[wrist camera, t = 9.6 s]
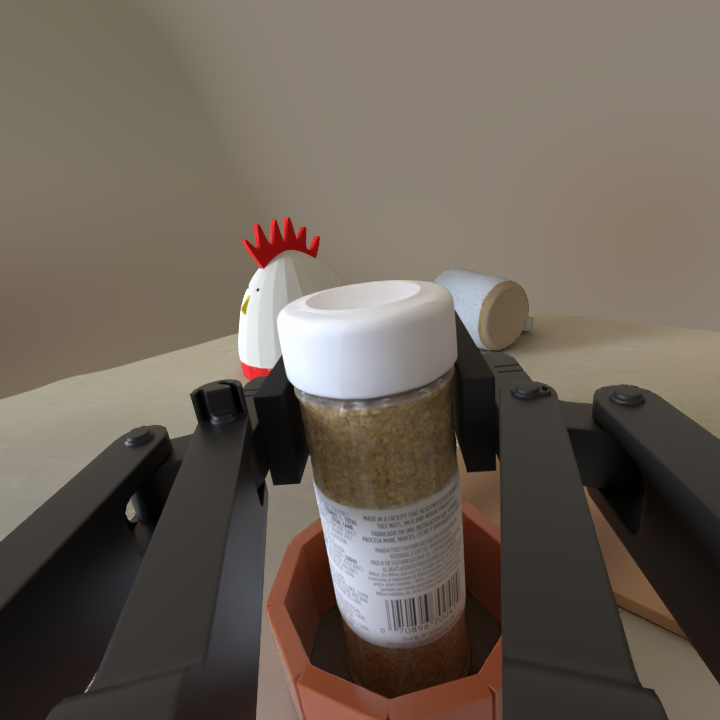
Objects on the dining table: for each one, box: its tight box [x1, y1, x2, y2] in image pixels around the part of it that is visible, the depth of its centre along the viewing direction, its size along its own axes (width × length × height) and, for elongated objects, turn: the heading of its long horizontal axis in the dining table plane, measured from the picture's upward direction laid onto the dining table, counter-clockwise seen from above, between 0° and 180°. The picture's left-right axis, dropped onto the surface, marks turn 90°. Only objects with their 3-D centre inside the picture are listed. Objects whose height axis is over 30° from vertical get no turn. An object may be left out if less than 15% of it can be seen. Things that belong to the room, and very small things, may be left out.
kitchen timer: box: [238, 218, 343, 380], centre depth 45 cm, size 14×14×15 cm
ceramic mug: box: [434, 268, 534, 350], centre depth 44 cm, size 11×8×8 cm
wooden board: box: [456, 448, 689, 640], centre depth 20 cm, size 20×13×1 cm, turn 46°
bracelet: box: [266, 500, 502, 720], centre depth 15 cm, size 8×9×4 cm
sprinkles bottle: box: [277, 280, 471, 699], centre depth 13 cm, size 5×5×13 cm
